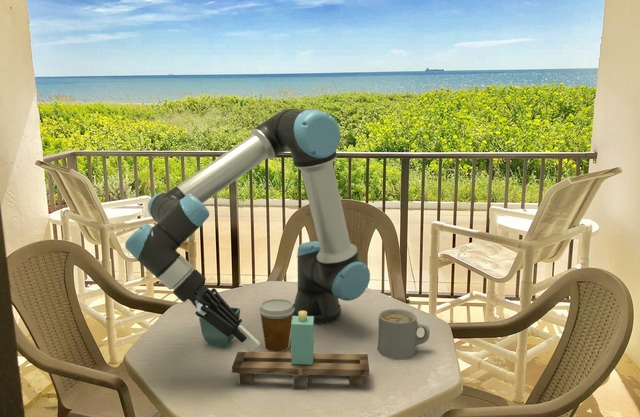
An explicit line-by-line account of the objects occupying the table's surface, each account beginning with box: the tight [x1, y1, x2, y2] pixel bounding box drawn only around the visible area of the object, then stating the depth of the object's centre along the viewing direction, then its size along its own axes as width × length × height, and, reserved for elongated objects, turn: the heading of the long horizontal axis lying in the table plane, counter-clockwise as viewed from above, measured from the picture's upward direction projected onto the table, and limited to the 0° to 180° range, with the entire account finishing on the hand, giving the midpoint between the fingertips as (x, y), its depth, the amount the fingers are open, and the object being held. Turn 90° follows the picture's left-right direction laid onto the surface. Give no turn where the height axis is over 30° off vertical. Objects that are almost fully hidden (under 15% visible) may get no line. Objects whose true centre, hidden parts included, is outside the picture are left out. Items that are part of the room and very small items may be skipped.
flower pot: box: [198, 306, 241, 348], centre depth 156 cm, size 9×9×9 cm
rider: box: [290, 311, 315, 365], centre depth 136 cm, size 5×5×13 cm
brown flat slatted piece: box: [231, 351, 370, 390], centre depth 137 cm, size 32×9×5 cm, turn 88°
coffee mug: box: [377, 308, 431, 360], centre depth 152 cm, size 13×10×10 cm
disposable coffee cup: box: [258, 298, 294, 352], centre depth 154 cm, size 10×10×12 cm
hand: (255, 347), depth 137 cm, fingers closed
